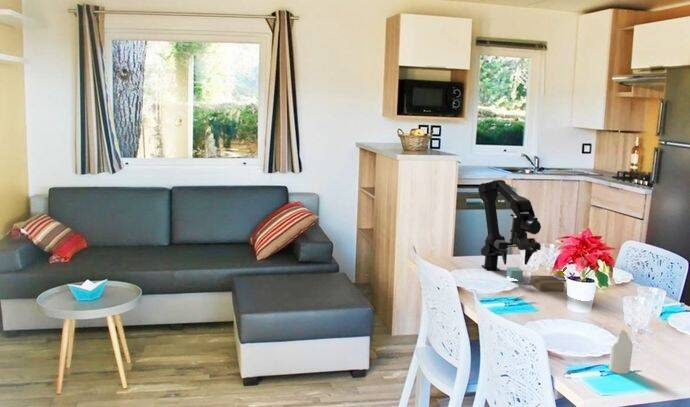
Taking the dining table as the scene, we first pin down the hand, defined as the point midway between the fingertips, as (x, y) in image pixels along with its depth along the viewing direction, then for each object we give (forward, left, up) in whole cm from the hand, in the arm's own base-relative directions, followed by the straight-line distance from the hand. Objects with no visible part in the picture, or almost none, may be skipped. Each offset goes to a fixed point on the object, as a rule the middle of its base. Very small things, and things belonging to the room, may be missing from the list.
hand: (515, 264), depth 264 cm
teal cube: (0, 0, -7) cm, 7 cm away
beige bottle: (+86, -4, -7) cm, 86 cm away
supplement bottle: (-3, +23, -7) cm, 24 cm away
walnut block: (+10, +10, -7) cm, 16 cm away
